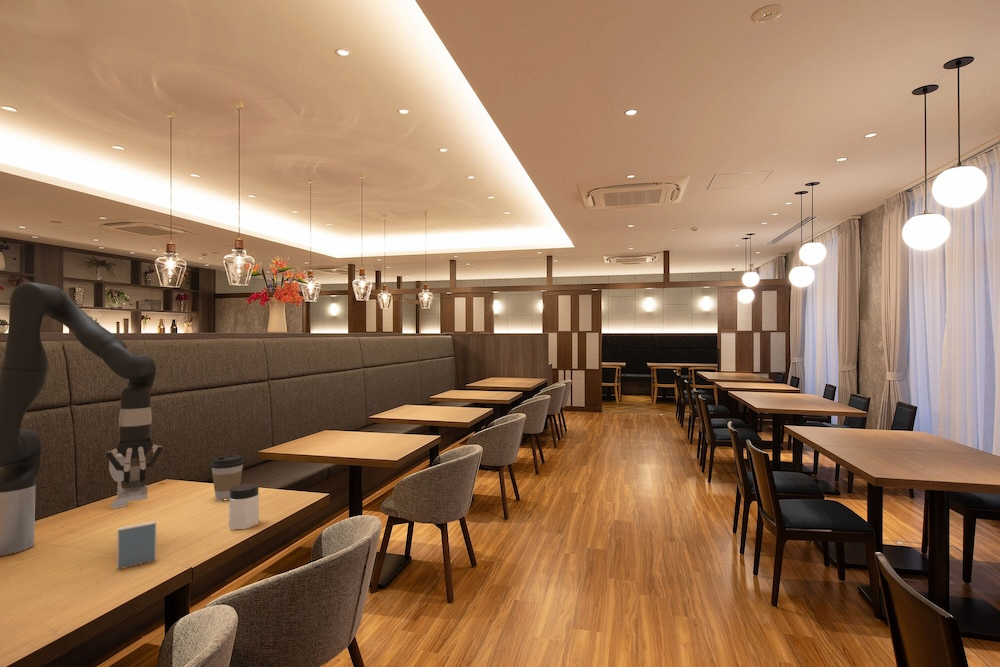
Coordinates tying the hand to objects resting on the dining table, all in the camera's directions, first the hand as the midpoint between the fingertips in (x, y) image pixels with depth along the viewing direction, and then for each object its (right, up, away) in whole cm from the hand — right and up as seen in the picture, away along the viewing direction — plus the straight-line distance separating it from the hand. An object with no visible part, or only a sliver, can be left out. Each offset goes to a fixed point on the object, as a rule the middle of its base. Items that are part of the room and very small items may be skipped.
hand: (134, 482), depth 138 cm
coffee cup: (+4, -19, +40) cm, 44 cm away
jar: (+25, -18, +12) cm, 33 cm away
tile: (+12, -17, -14) cm, 25 cm away
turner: (+2, -1, -2) cm, 3 cm away
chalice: (-30, -18, +32) cm, 47 cm away
